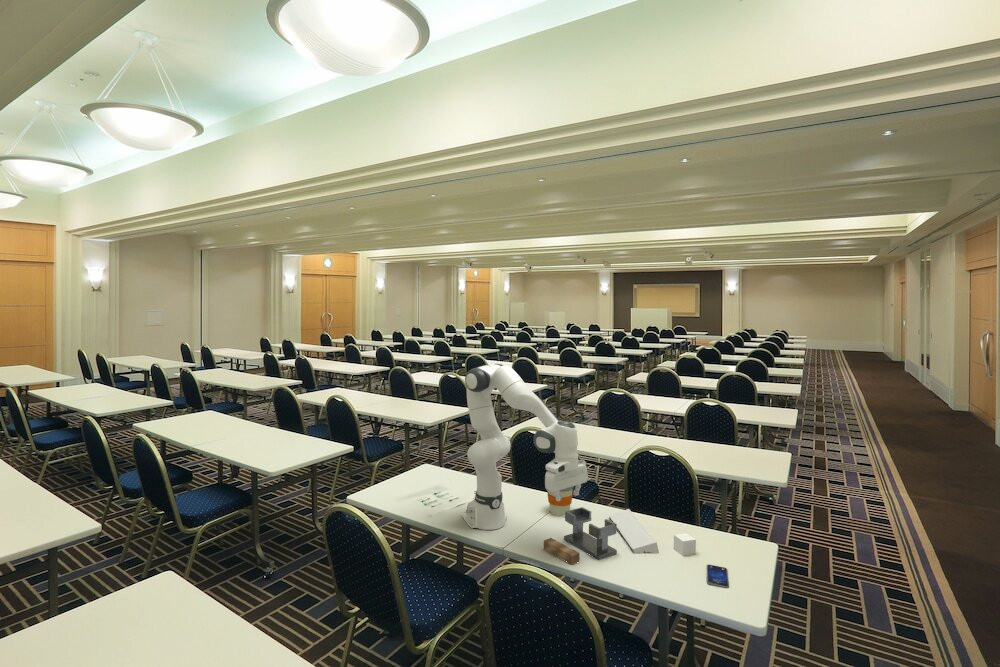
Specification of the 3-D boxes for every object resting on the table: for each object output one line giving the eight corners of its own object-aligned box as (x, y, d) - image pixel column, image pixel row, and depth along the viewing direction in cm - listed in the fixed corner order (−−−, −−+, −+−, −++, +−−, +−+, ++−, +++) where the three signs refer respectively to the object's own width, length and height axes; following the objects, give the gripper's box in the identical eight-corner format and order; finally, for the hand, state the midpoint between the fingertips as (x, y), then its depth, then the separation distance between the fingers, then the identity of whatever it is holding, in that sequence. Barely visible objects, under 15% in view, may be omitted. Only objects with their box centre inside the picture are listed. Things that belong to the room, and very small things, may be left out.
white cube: (685, 547, 210) (686, 533, 210) (695, 554, 205) (696, 539, 204) (673, 549, 209) (673, 534, 208) (682, 556, 203) (683, 541, 203)
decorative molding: (635, 560, 205) (659, 553, 205) (632, 549, 204) (656, 542, 205) (610, 524, 239) (631, 518, 239) (608, 514, 238) (628, 508, 239)
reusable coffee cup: (559, 505, 254) (560, 475, 253) (578, 513, 244) (579, 482, 243) (541, 510, 246) (541, 480, 245) (559, 519, 236) (560, 487, 235)
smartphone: (727, 567, 193) (729, 587, 179) (727, 570, 193) (729, 590, 179) (706, 563, 196) (706, 582, 182) (706, 566, 196) (706, 585, 182)
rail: (543, 549, 207) (543, 540, 207) (550, 547, 209) (550, 537, 209) (572, 565, 194) (572, 555, 194) (579, 562, 197) (579, 552, 197)
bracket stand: (563, 539, 216) (564, 511, 215) (581, 534, 221) (582, 506, 221) (598, 560, 199) (598, 529, 198) (616, 553, 204) (617, 524, 203)
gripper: (579, 456, 210) (580, 490, 210) (542, 466, 198) (543, 501, 198) (591, 459, 205) (591, 494, 205) (553, 469, 193) (554, 506, 193)
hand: (567, 498), depth 202 cm, fingers open, 8 cm apart
